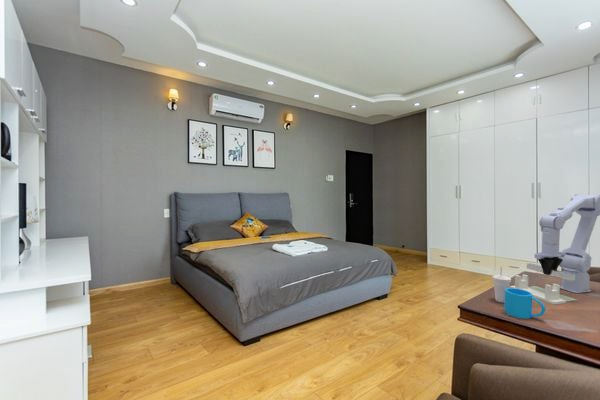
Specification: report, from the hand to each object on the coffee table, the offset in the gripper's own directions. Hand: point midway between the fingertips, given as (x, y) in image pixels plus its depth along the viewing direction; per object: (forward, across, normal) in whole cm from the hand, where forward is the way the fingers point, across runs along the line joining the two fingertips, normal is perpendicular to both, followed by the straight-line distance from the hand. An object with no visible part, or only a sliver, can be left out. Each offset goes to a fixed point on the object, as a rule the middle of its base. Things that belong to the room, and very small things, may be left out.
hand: (549, 274), depth 127 cm
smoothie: (+9, -27, -2) cm, 28 cm away
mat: (+9, 0, 0) cm, 9 cm away
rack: (+9, -7, 0) cm, 11 cm away
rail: (0, 0, 0) cm, 0 cm away
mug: (+9, -31, -14) cm, 35 cm away
